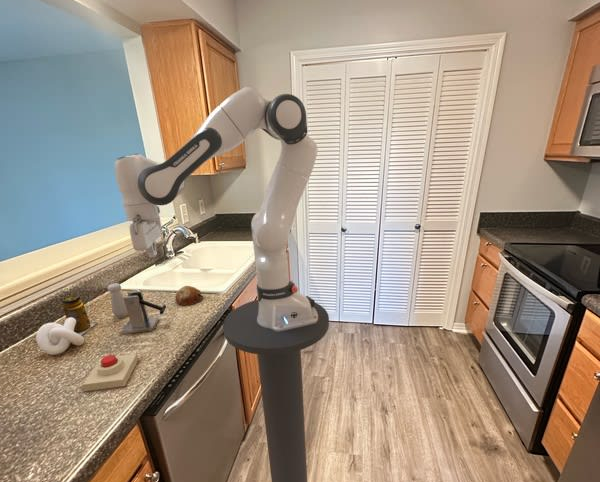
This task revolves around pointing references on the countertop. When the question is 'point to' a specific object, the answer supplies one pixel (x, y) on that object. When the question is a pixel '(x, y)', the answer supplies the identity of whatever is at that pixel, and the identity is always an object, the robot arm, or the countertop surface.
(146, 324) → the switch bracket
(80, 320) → the condiment
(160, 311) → the switch
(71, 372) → the countertop surface
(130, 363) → the button block
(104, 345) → the countertop surface
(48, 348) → the white knot
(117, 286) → the salt shaker
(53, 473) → the countertop surface
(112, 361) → the button
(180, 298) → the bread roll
